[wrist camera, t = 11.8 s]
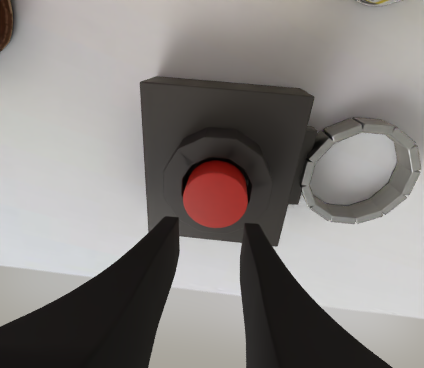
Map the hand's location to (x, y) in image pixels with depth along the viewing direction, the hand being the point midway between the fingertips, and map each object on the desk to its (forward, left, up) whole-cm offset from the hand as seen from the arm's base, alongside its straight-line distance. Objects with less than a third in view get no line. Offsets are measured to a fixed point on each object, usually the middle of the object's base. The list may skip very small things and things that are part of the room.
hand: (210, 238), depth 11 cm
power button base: (0, 0, -10) cm, 10 cm away
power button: (0, 0, -5) cm, 5 cm away
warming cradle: (-10, 0, -10) cm, 14 cm away
